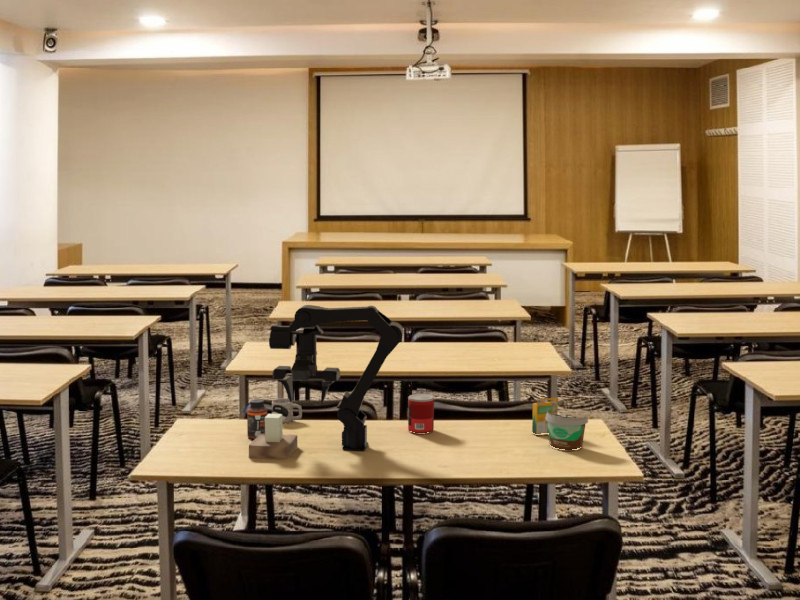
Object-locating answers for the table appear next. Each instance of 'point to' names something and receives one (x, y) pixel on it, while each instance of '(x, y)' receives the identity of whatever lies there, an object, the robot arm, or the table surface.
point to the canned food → (421, 413)
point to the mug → (285, 409)
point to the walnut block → (273, 447)
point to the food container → (566, 431)
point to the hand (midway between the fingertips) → (306, 402)
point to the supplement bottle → (256, 418)
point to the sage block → (273, 428)
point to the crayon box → (543, 414)
